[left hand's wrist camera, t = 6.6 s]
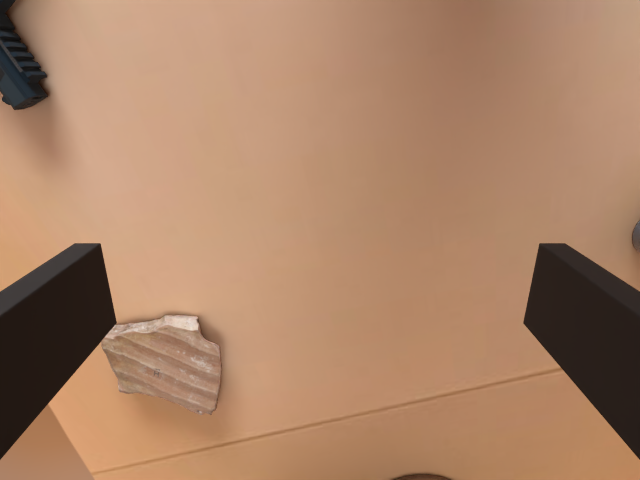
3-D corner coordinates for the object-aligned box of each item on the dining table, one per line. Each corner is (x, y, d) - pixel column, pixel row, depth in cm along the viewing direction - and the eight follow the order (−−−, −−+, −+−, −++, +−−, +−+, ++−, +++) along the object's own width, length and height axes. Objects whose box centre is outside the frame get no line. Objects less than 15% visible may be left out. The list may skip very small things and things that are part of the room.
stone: (230, 321, 45) (225, 334, 43) (219, 406, 49) (214, 422, 47) (111, 301, 44) (99, 314, 42) (110, 389, 49) (99, 405, 46)
